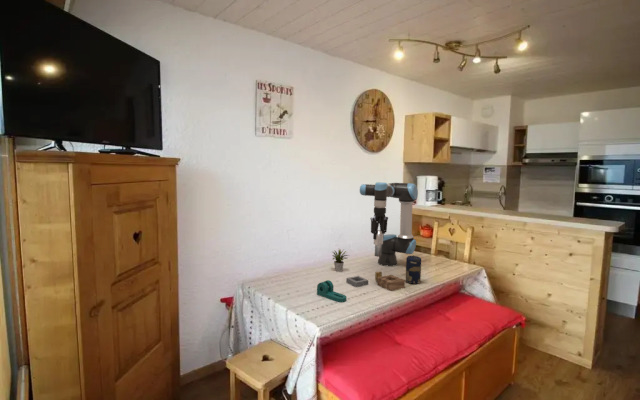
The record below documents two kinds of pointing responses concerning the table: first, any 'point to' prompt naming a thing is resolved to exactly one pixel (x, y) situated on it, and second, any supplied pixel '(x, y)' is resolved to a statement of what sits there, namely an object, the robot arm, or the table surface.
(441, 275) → the table surface
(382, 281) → the socket block
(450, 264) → the table surface
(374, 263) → the table surface
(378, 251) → the grey rounded rod
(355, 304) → the table surface
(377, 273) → the yellow t-shaped block
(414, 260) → the canister
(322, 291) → the bracket
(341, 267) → the house plant
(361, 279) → the grey square frame
